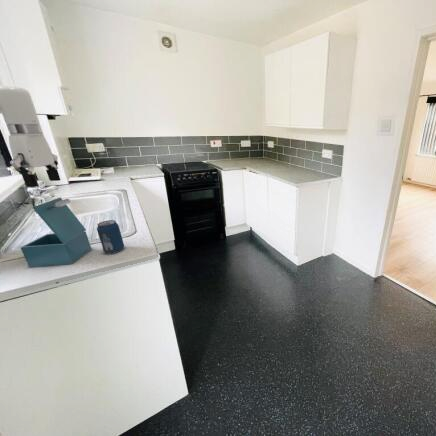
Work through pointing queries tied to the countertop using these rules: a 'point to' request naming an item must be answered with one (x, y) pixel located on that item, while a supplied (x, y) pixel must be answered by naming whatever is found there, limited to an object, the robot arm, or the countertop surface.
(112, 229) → the soda can
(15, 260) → the countertop surface
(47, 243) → the box
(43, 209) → the freezer lid
